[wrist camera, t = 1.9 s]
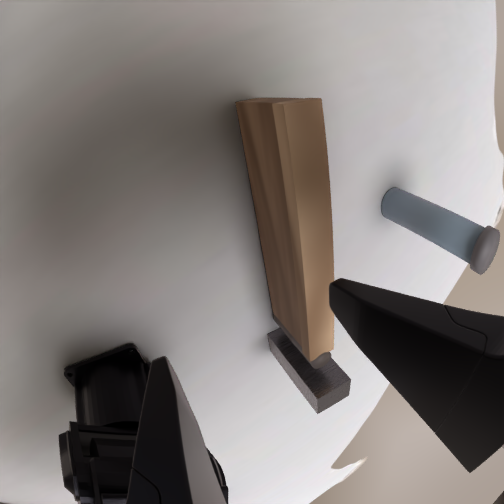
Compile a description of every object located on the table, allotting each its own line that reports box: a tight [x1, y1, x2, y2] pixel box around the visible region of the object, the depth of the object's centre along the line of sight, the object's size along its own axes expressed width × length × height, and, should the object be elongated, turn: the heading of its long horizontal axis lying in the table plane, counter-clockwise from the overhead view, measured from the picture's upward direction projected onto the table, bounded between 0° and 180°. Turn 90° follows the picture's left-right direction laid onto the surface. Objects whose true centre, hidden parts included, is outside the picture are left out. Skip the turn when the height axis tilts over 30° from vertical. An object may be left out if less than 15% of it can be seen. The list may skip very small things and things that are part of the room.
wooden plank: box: [235, 98, 334, 369], centre depth 19 cm, size 2×18×6 cm, turn 11°
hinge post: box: [267, 328, 351, 414], centre depth 25 cm, size 3×2×8 cm
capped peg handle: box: [381, 188, 500, 275], centre depth 22 cm, size 4×4×11 cm
